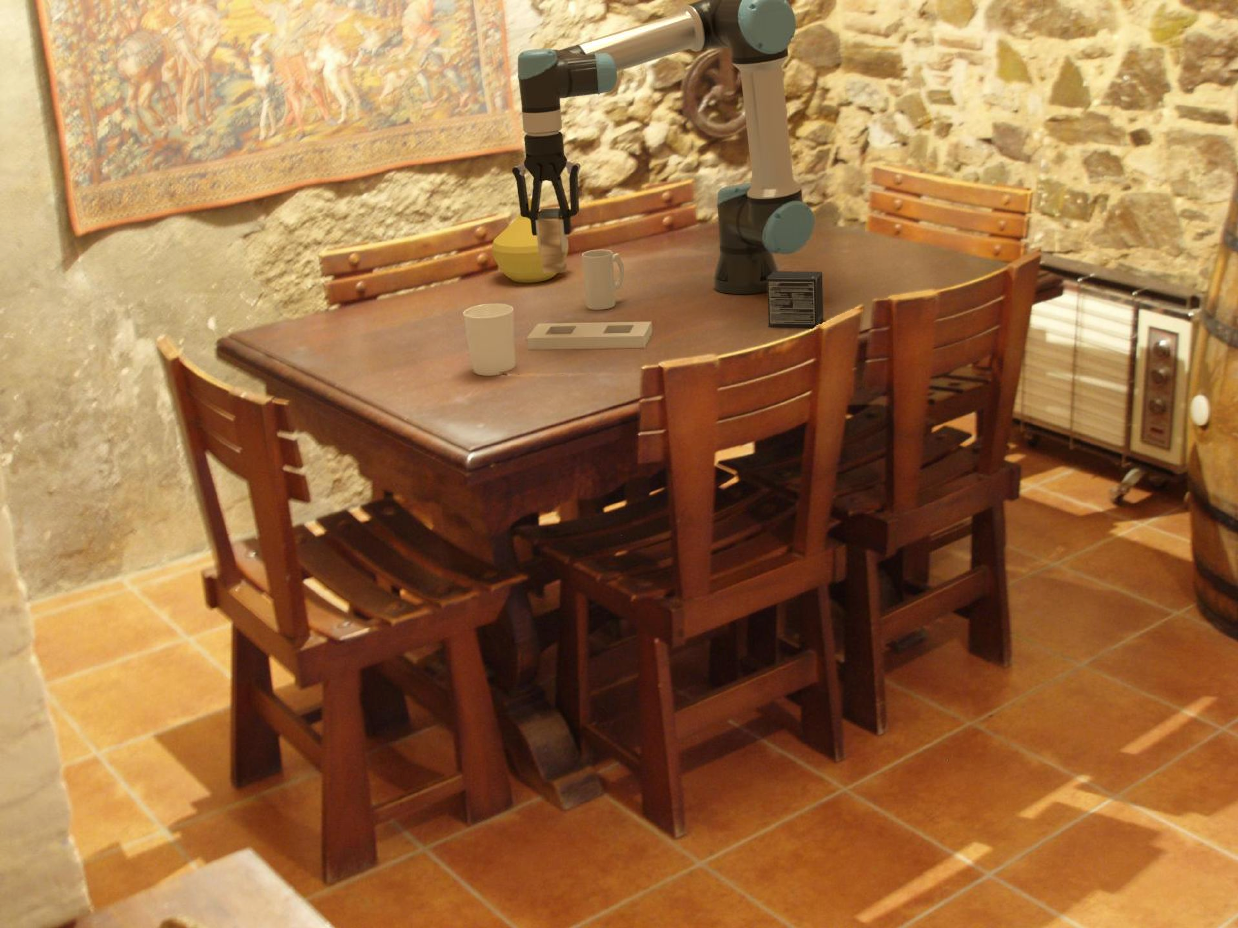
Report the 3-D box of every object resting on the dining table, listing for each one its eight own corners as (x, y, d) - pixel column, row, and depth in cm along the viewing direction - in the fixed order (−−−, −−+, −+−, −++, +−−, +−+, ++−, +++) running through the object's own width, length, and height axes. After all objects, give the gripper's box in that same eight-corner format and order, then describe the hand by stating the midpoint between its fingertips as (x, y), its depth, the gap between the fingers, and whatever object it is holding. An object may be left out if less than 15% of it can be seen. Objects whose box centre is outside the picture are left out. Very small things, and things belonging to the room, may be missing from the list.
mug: (597, 312, 313) (592, 258, 308) (580, 306, 318) (575, 254, 314) (634, 302, 318) (630, 249, 314) (617, 297, 323) (613, 245, 319)
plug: (567, 267, 288) (562, 208, 284) (562, 272, 284) (557, 212, 280) (547, 268, 289) (542, 208, 284) (542, 273, 285) (537, 213, 281)
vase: (558, 264, 356) (552, 188, 349) (580, 280, 340) (573, 200, 332) (487, 275, 351) (479, 198, 344) (506, 292, 335) (497, 211, 327)
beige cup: (469, 364, 284) (463, 306, 280) (518, 359, 285) (512, 301, 281) (469, 379, 275) (462, 319, 271) (519, 374, 276) (514, 315, 271)
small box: (824, 319, 296) (823, 270, 292) (818, 328, 290) (817, 278, 286) (774, 318, 299) (773, 269, 295) (767, 327, 293) (765, 277, 289)
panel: (652, 335, 294) (651, 321, 292) (644, 350, 285) (643, 336, 283) (539, 337, 298) (538, 323, 297) (528, 352, 289) (526, 338, 288)
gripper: (589, 127, 278) (598, 245, 287) (505, 131, 281) (516, 247, 290) (582, 134, 271) (591, 254, 280) (495, 137, 275) (507, 256, 283)
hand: (553, 250), depth 285 cm, fingers closed on plug, 4 cm apart
